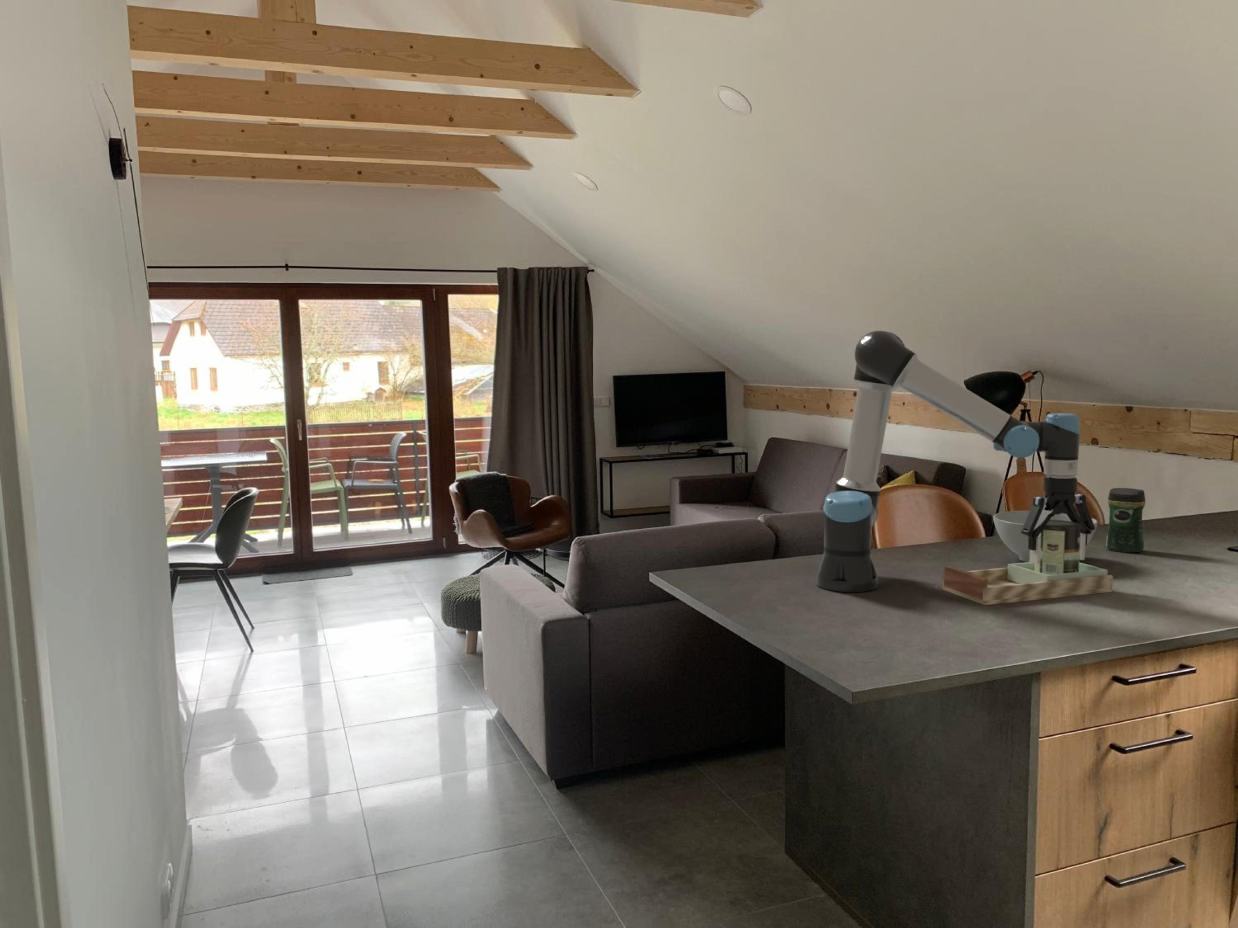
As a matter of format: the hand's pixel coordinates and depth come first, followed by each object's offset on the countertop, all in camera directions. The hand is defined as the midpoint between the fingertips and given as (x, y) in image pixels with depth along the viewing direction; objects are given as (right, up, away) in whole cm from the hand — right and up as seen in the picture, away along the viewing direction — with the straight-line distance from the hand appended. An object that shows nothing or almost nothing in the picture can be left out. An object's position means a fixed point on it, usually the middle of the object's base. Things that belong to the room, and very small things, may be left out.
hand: (1057, 561), depth 230 cm
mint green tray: (0, -5, +1) cm, 5 cm away
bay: (-9, -7, -2) cm, 11 cm away
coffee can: (0, -5, +1) cm, 5 cm away
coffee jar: (+41, -2, +44) cm, 60 cm away
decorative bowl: (+11, -3, +32) cm, 34 cm away
